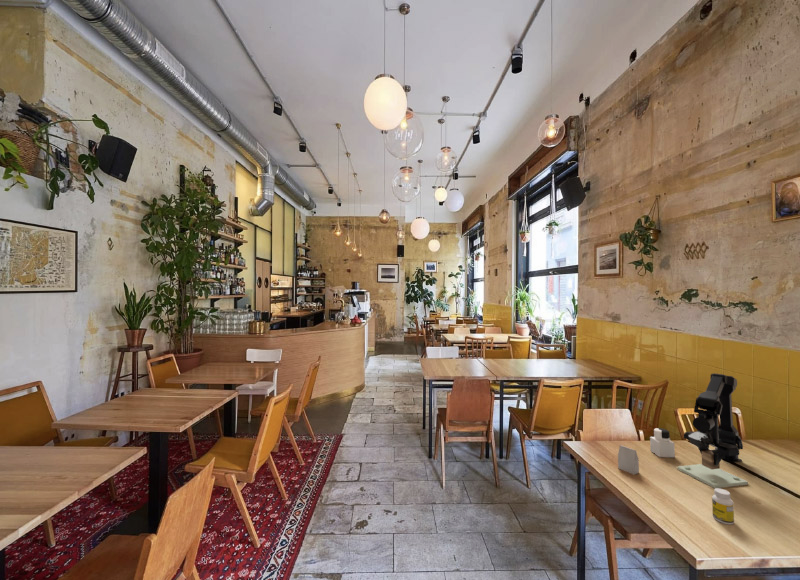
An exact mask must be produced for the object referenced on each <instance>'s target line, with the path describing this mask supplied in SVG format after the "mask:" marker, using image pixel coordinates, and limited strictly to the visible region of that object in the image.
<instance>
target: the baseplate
mask: <svg viewBox="0 0 800 580" xmlns="http://www.w3.org/2000/svg"><path fill="white" fill-rule="evenodd" d="M676 469H677V470H678V471H681V472H682V473H684V474H686V475H688V476H690V477H691V478H694V479H696V480H698V481H700V482H701V483H704V484H706V485H707V486H710V487H711V488H714V489H715V488H720V489H723V488H730V487H738V486H739V485H740V486H746V485H747V486H748V485H749V481H747V480H745V479H744V478H741V477H739V476H736V475H735V474H732V473H729V472H727V471H726V470H723V469H721V468H720V469H710V468H707V467H705V466H703V465H702V463H697V464H689V465H679V466H677V467H676Z"/></svg>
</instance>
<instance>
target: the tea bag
mask: <svg viewBox="0 0 800 580" xmlns="http://www.w3.org/2000/svg"><path fill="white" fill-rule="evenodd" d="M617 453H618V454H617V467H618V469H619V470H621V471H623V472H626V473H629V474H631V475H633V476H635V475H637V474H639V473H640V466H639V464H640V463H639V456H638V453H637V450H636V449H633V448H630V447H627V446H625V445H622V444H620V445H619V448H618V452H617Z"/></svg>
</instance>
